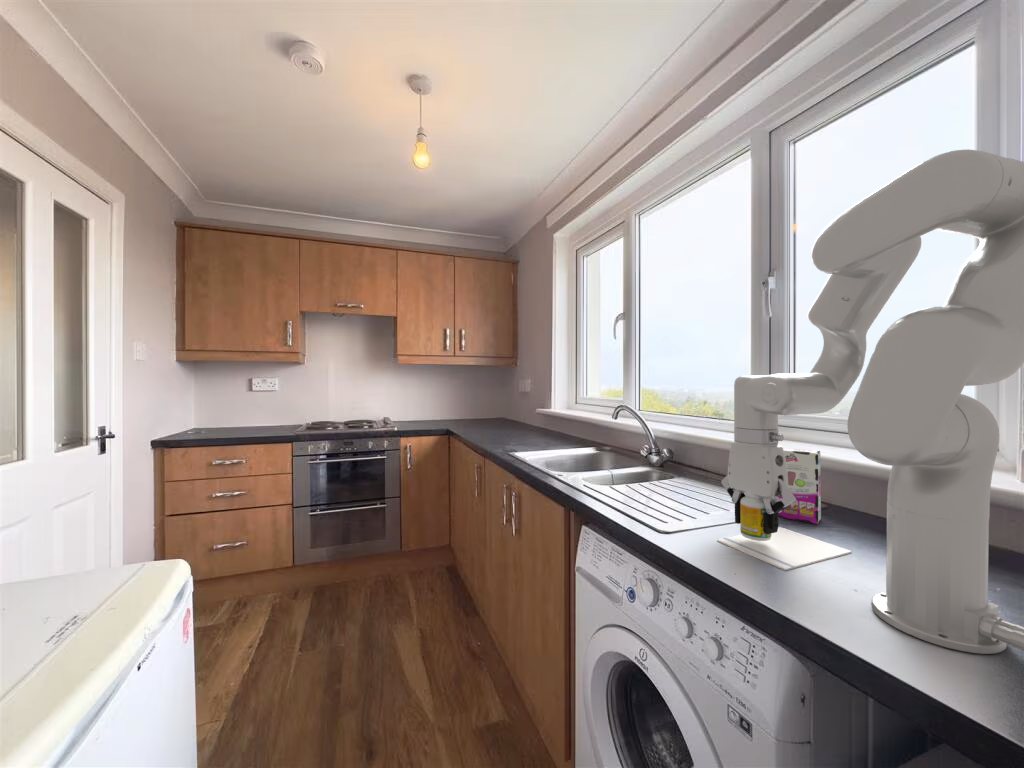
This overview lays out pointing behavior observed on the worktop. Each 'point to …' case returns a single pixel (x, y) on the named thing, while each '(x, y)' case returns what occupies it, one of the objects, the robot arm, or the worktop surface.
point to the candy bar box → (803, 485)
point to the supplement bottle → (752, 517)
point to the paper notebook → (786, 549)
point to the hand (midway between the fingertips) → (755, 526)
